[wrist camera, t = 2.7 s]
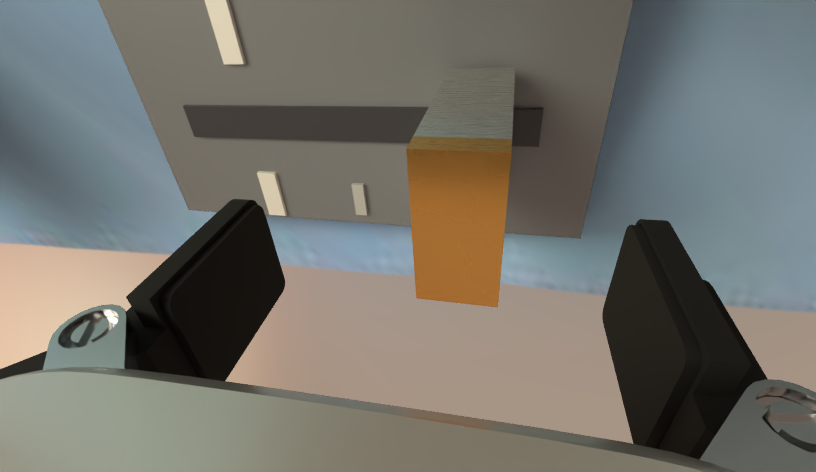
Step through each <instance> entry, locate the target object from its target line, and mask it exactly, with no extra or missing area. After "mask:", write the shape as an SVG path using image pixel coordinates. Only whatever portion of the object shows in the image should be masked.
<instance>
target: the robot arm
mask: <svg viewBox="0 0 816 472" xmlns="http://www.w3.org/2000/svg"><path fill="white" fill-rule="evenodd" d="M284 287H285V279H284V275H283V272H282V269H281V266H280V262H279V259H278V256H277V252H276V249H275V246H274V242H273V239H272V236H271V233H270V229H269V226H268V223H267V219H266V216H265V213H264V210H263V208H262V207H261V206H259V205H258V204H257V203H256V201H254V200H245V199H232V200H231V201H229V202H228V203H227V204H226V205H225V206H224V207H223V208H222V209H221V210H219V211H218V212H217V213H216V214H215V215H214V216H213V217H212V218H211V219H210V220H209V221H208V222H207V223H205V224H204V225H203V226H202V227H201V228H200V229H199V230H198V231H197V232H196V233H195V234H194V235H192V236H191V237H190V238H189V239H188V240H187V241H186V242H185V243H184V244H183V245H182V246H181V247H180V248H178V249H177V250H176V251H175V252H174V253H173V254H172V255H171V256H170V257H169V258H168V259H167V260H165V261H164V262H163V263H162V264H161V265H160V266H159V267H158V268H157V269H156V270H155V271H154V272H153V273H151V274H150V275H149V276H148V277H147V278H146V279H145V280H144V281H143V282H142V283H141V284H140V285H139V286H137V287H136V288H135V289H134V290H133V291H132V292H131V293H130V294H129V295H128V296H127V297H126V298H127V299H128V301H129V303H130V304H131V306H132V307H131V308H130V309H129V310H128V311H125V309H123V308H122V307H121V306H117V305H101V306H98V307H93V308H90V309H88V310H85V311H83V312H81V313H79V314H77V315H75V316H74V317H72V318H70V319H69V320H67V321H66V322H65V323H64V324H62V325H61V326H60V327H59V328H58V329H57V330H56V331H55V333H54V334H53V335H52V337H51V339H50V342H49V346H48V350H47V351H45V352H43V353H40V354H38V355H36V356H33V357H30V358H28V359H25V360H23V361H20V362H18V363H15V364H13V365H10V366H8V367H5V368H2V369H0V472H816V392H813V391H811V390H809V389H807V388H804V387H802V386H800V385H797V384H794V383H790V382H785V381H782V380H769V379H767V377H766V376H765V374H764V372H763V371H762V369H761V367H760V366H759V364H758V362H757V361H756V359H755V357H754V355H753V354H752V352H751V350H750V349H749V347H748V345H747V344H746V342H745V340H744V339H743V337H742V335H741V334H740V332H739V330H738V329H737V327H736V325H735V324H734V322H733V320H732V319H731V317H730V315H729V314H728V312H727V310H726V309H725V307H724V305H723V303H722V302H721V300H720V298H719V297H718V295H717V293H716V292H715V290H714V288H713V287H712V286H711V284H710V283H709V282H707V281H705V280H702V278H701V276H700V275H699V273H698V271H697V269H696V268H695V266H694V264H693V262H692V261H691V259H690V257H689V256H688V254H687V252H686V250H685V249H684V247H683V245H682V243H681V242H680V240H679V238H678V237H677V235H676V233H675V231H674V230H673V228H672V226H671V224H670V223H669V222H668V221H663V220H643V219H640V220H638V221H637V223H636V225H629V226H628V227H627V230H626V232H625V236H624V239H623V243H622V246H621V250H620V253H619V256H618V260H617V263H616V267H615V270H614V273H613V277H612V280H611V284H610V287H609V291H608V294H607V297H606V301H605V304H604V308H603V323H604V328H605V332H606V336H607V340H608V344H609V348H610V351H611V356H612V360H613V363H614V368H615V372H616V375H617V380H618V383H619V387H620V392H621V395H622V400H623V404H624V408H625V411H626V416H627V419H628V423H629V427H630V431H631V435H632V439H633V443H634V444H631V443H626V442H620V441H614V440H608V439H602V438H596V437H590V436H584V435H578V434H573V433H567V432H560V431H555V430H549V429H543V428H536V427H530V426H523V425H517V424H510V423H504V422H497V421H490V420H484V419H477V418H471V417H464V416H458V415H451V414H445V413H438V412H432V411H425V410H419V409H411V408H405V407H398V406H391V405H385V404H377V403H371V402H364V401H358V400H351V399H344V398H337V397H330V396H324V395H317V394H309V393H303V392H296V391H289V390H282V389H275V388H268V387H261V386H254V385H247V384H240V383H233V382H226V381H225V380H226V379H227V377H228V376H229V374H230V372H231V371H232V370H233V368H234V366H235V365H236V363H237V362H238V360H239V359H240V357H241V356H242V354H243V352H244V351H245V349H246V348H247V346H248V345H249V343H250V342H251V340H252V339H253V337H254V335H255V334H256V332H257V331H258V329H259V328H260V326H261V325H262V323H263V321H264V320H265V318H266V317H267V315H268V314H269V312H270V311H271V309H272V308H273V306H274V305H275V303H276V302H277V300H278V298H279V296H280V295H281V294H282V292H283V290H284Z"/></svg>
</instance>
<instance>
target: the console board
mask: <svg viewBox="0 0 816 472" xmlns="http://www.w3.org/2000/svg"><path fill="white" fill-rule="evenodd" d="M98 1H99V4H100V6H101V8H102V11H103V13H104V15H105V18H106V20H107V22H108V24H109V27H110V29H111V31H112V34H113V36H114V38H115V41H116V43H117V45H118V47H119V50H120V52H121V54H122V57H123V59H124V61H125V64H126V66H127V68H128V71H129V73H130V75H131V77H132V80H133V82H134V84H135V87H136V89H137V91H138V94H139V96H140V98H141V101H142V103H143V105H144V107H145V110H146V112H147V114H148V117H149V119H150V121H151V124H152V126H153V128H154V131H155V133H156V135H157V137H158V140H159V142H160V144H161V147H162V149H163V151H164V154H165V156H166V158H167V161H168V163H169V165H170V167H171V170H172V172H173V174H174V177H175V179H176V181H177V184H178V186H179V188H180V190H181V193H182V195H183V197H184V200H185V202H186V204H187V207H188V209H189V210H199V211H212V212H218V211H219V210H221V209H222V208H223V207H224V206H225V205H226V204H227V203H228V202H229V201H231V200H232V199H245V200H254V201H256V203H257V204H258V205H259V206H261V207H262V208H263V210H264V213H265V215H267V216H281V217H295V218H309V219H322V220H336V221H350V222H364V223H377V224H391V225H405V226H411V212H410V197H409V183H408V168H407V154H406V148H407V147H408V145H409V143H410V141H411V139H412V137H413V135H414V134H415V132H416V130H417V128H418V126H419V124H420V123H421V121H422V119H423V117H424V115H425V113H426V112H427V110H428V108H429V106H430V104H431V102H432V100H433V99H434V97H435V95H436V93H437V91H438V89H439V88H440V86H441V84H442V82H443V80H444V78H445V77H446V75H447V73H448V71H449V69H450V68H515V85H514V108H513V131H512V153H511V164H510V175H509V187H508V198H507V209H506V220H505V231H504V233H515V234H529V235H542V236H556V237H570V238H581V234H582V230H583V225H584V221H585V216H586V212H587V207H588V203H589V198H590V194H591V189H592V185H593V180H594V176H595V171H596V167H597V162H598V158H599V153H600V149H601V144H602V140H603V135H604V131H605V126H606V122H607V117H608V113H609V108H610V104H611V99H612V95H613V90H614V86H615V81H616V77H617V72H618V68H619V63H620V59H621V54H622V50H623V45H624V41H625V36H626V32H627V27H628V23H629V18H630V14H631V9H632V4H633V0H98Z"/></svg>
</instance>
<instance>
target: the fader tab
mask: <svg viewBox="0 0 816 472" xmlns="http://www.w3.org/2000/svg"><path fill="white" fill-rule="evenodd" d="M514 85H515V68H450V69H449V71H448V73H447V75H446V77H445V78H444V80H443V82H442V84H441V86H440V88H439V89H438V91H437V93H436V95H435V97H434V99H433V100H432V102H431V104H430V106H429V108H428V110H427V112H426V113H425V115H424V117H423V119H422V121H421V123H420V124H419V126H418V128H417V130H416V132H415V134H414V135H413V137H412V139H411V141H410V143H409V145H408V147H407V148H406V154H407V168H408V183H409V197H410V212H411V226H412V241H413V255H414V270H415V282H416V283H415V284H416V297H417V298H420V299H428V300H437V301H446V302H455V303H465V304H473V305H482V306H491V307H498V298H499V287H500V276H501V265H502V254H503V243H504V231H505V220H506V209H507V198H508V187H509V175H510V164H511V153H512V131H513V108H514Z"/></svg>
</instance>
